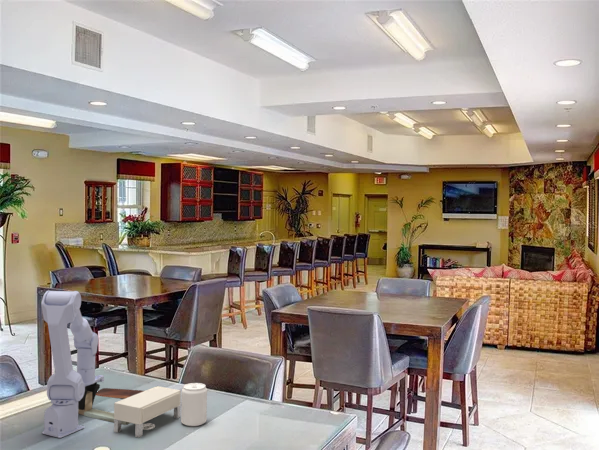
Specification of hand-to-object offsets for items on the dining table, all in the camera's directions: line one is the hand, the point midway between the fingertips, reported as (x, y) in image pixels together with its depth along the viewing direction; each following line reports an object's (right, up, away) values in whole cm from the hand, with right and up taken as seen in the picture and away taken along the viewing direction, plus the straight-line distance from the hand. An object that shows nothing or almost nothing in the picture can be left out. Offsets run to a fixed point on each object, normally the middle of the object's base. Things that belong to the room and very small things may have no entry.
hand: (85, 407), depth 187 cm
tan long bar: (+8, -2, -4) cm, 9 cm away
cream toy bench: (+24, -2, -9) cm, 26 cm away
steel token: (+24, -3, -12) cm, 27 cm away
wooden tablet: (+8, -3, +21) cm, 22 cm away
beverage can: (+38, -3, -7) cm, 39 cm away
